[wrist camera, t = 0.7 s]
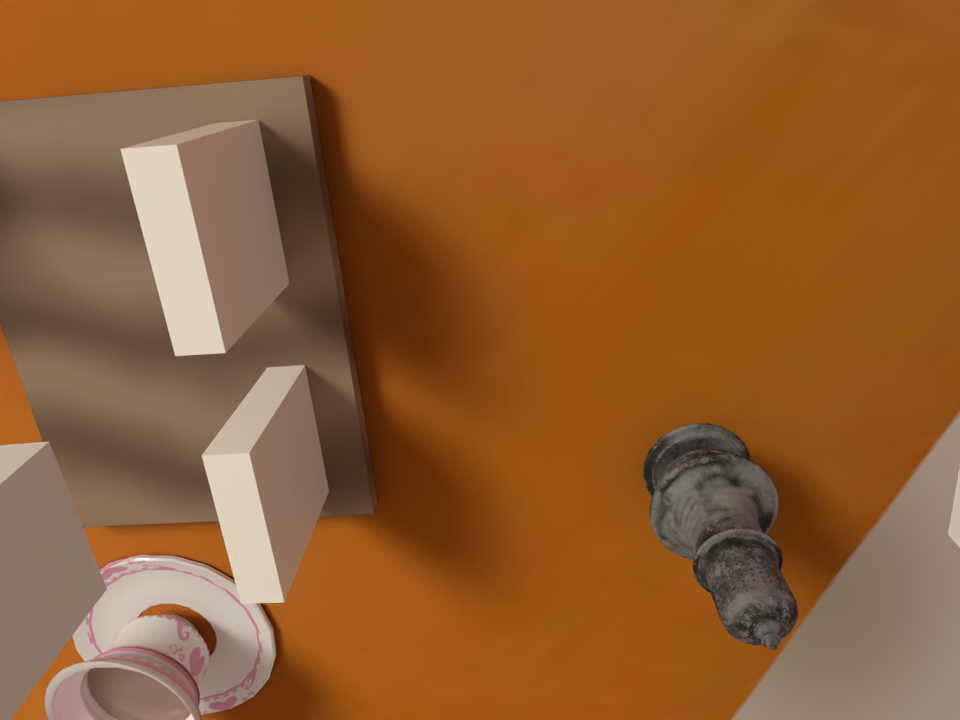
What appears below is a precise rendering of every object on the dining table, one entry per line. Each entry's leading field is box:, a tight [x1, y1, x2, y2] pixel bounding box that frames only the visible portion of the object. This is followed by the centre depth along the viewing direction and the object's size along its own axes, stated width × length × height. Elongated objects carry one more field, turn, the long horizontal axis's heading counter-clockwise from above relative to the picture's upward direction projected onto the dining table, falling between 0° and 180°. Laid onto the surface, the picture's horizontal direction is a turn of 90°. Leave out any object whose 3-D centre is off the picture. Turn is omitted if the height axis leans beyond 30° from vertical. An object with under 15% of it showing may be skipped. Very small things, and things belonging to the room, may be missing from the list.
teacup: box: [45, 555, 277, 720], centre depth 40 cm, size 12×12×6 cm
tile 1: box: [120, 120, 289, 356], centre depth 28 cm, size 7×2×8 cm, turn 5°
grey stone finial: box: [644, 424, 798, 650], centre depth 32 cm, size 6×6×12 cm
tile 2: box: [202, 365, 329, 604], centre depth 32 cm, size 7×2×8 cm, turn 4°
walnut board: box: [0, 75, 378, 527], centre depth 34 cm, size 21×16×1 cm
